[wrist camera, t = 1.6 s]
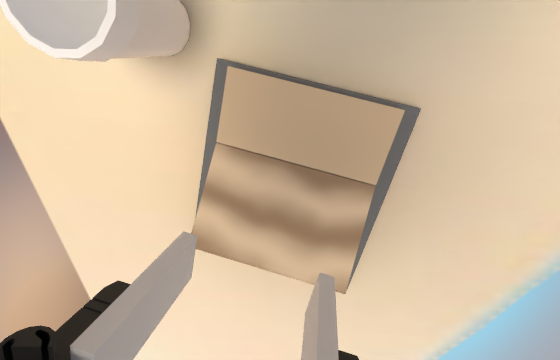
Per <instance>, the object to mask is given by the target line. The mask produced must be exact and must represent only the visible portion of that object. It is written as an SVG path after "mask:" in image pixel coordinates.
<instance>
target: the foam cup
mask: <svg viewBox="0 0 560 360" xmlns="http://www.w3.org/2000/svg"><path fill="white" fill-rule="evenodd" d="M0 6H1V8H2V10H3V13H4V15H5V17H6V18H7V19H8V20H9V22H10V23H11V24H12V25H13V26H14V27H15V29H16V30H17V31H18V32H19V33H20V35H21V36H22V37H23V38H24V39H25V40H26V42H27V43H29V44H30V45H32V46H34V47H36V48H38V49H39V50H41V51H43V52H45V53H47V54H48V55H50V56H52V57H54V58H61V59H70V60H79V61H102V62H106V61H107V60H109V59H114V58H137V57H161V56H173V55H175V54H176V53H178V52H180V51H182V50H183V48H184V46H185V45H186V43H187V41H188V40H189V34H190V26H191V25H190V21H189V17H188V13H187V10H186V9H185V7H184V6H183V5H182V3H181V2H180V0H0Z"/></svg>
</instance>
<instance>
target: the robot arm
mask: <svg viewBox="0 0 560 360" xmlns="http://www.w3.org/2000/svg"><path fill="white" fill-rule="evenodd" d="M196 242H197V235H193V234H190V233H187V232H183V233H182V234H181V235H180V236H179V237H178V238H177V239H176V240H175V241H174V242H173V243H172V244H171V245H170V246H169V247H168V248H167V249H166V250H165V251H164V252H163V253H162V254H161V255H160V256H159V257H158V258H157V259H156V260H155V261H154V262H153V263H152V264H151V265H150V266H149V267H148V268H147V269H146V270H145V271H144V272H143V273H142V274H141V275H140V276H139V277H138V278H137V279H136V280H135V281H134V282H133V283H132V284H128V283H125V282H121V281H116V282H114V283H112V284H110V285H108V286H106V287H105V288H103V289H102V290H101V291H100V292H99V293H98V294H97V295H95V296H94V297H93V299H92V300H90V301H89V302H88V303H87V304H85V305H84V307H83V308H81V309H80V310H79V311H78V312H77V313H75V314H74V315H73V316H72V317H71V318H70V319H69V320H68V321H67V322H65V323H64V324H63V325H62V326H61V327H60V328H59V329H58V330H57V331H53V330H52V329H51V328H49V327H45V326H34V327H28V328H25V329H22V330H20V331H17V332H15V333H14V334H12V335H10V336H8V337H7V338H5V339H4V340H3V341H2V342H1V343H0V360H133V359H134V357H135V356H136V355H137V353H138V352H139V350H140V349H141V348H142V346H143V345H144V343H145V342H146V341H147V339H148V338H149V336H150V335H151V333H152V332H153V331H154V329H155V328H156V326H157V325H158V324H159V322H160V321H161V319H162V318H163V317H164V315H165V314H166V312H167V311H168V310H169V308H170V307H171V305H172V304H173V303H174V301H175V300H176V298H177V297H178V296H179V294H180V293H181V291H182V290H183V288H184V287H185V286H186V284H187V283H188V281H189V280H190V279H191V277H192V270H193V263H194V256H195V249H196ZM301 360H359V359H358V357H357V356H355V355H352V354H349V353H346V352H343V351H340V350H338V337H337V317H336V297H335V277H333V276H330V275H327V274H323V273H319V275H318V278H317V281H316V284H315V287H314V290H313V293H312V295H311V298H310V301H309V304H308V307H307V310H306V312H305V322H304V334H303V345H302V356H301Z"/></svg>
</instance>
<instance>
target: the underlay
mask: <svg viewBox="0 0 560 360" xmlns="http://www.w3.org/2000/svg"><path fill="white" fill-rule="evenodd" d="M420 110H421V109H420V108H416V107H412V106H408V105H404V104H400V103H396V102H392V101H388V100H384V99H380V98H376V97H372V96H368V95H363V94H359V93H355V92H351V91H347V90H343V89H339V88H335V87H331V86H327V85H323V84H319V83H315V82H311V81H307V80H303V79H299V78H295V77H291V76H287V75H283V74H279V73H275V72H271V71H267V70H263V69H259V68H255V67H251V66H247V65H243V64H239V63H235V62H231V61H226V60H222V59H218V58H217V63H216V71H215V78H214V85H213V93H212V100H211V107H210V115H209V122H208V129H207V137H206V144H205V151H204V159H203V166H202V174H201V181H200V188H199V196H198V203H197V210H196V215H197V211H198V207H199V204H200V200H201V196H202V193H203V189H204V185H205V182H206V178H207V175H208V171H209V167H210V164H211V160H212V156H213V153H214V149H215V145H216V143H219V144H222V145H226V146H230V147H233V148H237V149H241V150H244V151H248V152H252V153H255V154H259V155H263V156H266V157H270V158H274V159H277V160H281V161H285V162H288V163H292V164H296V165H299V166H303V167H307V168H310V169H314V170H318V171H322V172H325V173H329V174H333V175H336V176H340V177H344V178H347V179H351V180H355V181H358V182H362V183H366V184H369V185H373V186H375V190H374V193H373V197H372V200H371V204H370V208H369V211H368V215H367V218H366V222H365V225H364V229H363V233H362V236H361V240H360V243H359V247H358V250H357V254H356V258H355V261H354V265H353V268H352V272H351V275H350V279H349V283H348V286H349V284H350V281H351V279H352V276H353V274H354V271H355V269H356V267H357V264H358V262H359V259H360V257H361V254H362V252H363V249H364V247H365V245H366V242H367V240H368V237H369V235H370V232H371V230H372V227H373V225H374V222H375V220H376V218H377V215H378V213H379V210H380V208H381V205H382V203H383V200H384V198H385V196H386V193H387V191H388V188H389V186H390V183H391V181H392V178H393V176H394V174H395V171H396V169H397V166H398V164H399V161H400V159H401V156H402V154H403V152H404V149H405V147H406V144H407V142H408V139H409V137H410V134H411V132H412V130H413V127H414V125H415V122H416V120H417V117H418V115H419V112H420ZM348 286H347V289H348Z"/></svg>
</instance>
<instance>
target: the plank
mask: <svg viewBox="0 0 560 360" xmlns="http://www.w3.org/2000/svg"><path fill="white" fill-rule="evenodd" d="M374 190H375V186H373V185H369V184H366V183H362V182H358V181H355V180H351V179H347V178H344V177H340V176H336V175H333V174H329V173H325V172H322V171H318V170H314V169H310V168H307V167H303V166H299V165H296V164H292V163H288V162H285V161H281V160H277V159H274V158H270V157H266V156H263V155H259V154H255V153H252V152H248V151H244V150H241V149H237V148H233V147H230V146H226V145H222V144H219V143H216V145H215V149H214V153H213V156H212V160H211V164H210V167H209V171H208V175H207V178H206V182H205V185H204V189H203V193H202V196H201V200H200V204H199V207H198V211H197V215H196V218H195V222H194V225H193V229H192V233H191V234H193V235H197V242H196V249H198V250H201V251H205V252H208V253H211V254H215V255H218V256H221V257H224V258H228V259H231V260H234V261H238V262H241V263H244V264H248V265H251V266H254V267H257V268H261V269H264V270H267V271H271V272H274V273H277V274H280V275H284V276H287V277H290V278H294V279H297V280H300V281H303V282H307V283H310V284H313V285H315V284H316V281H317V278H318V275H319V273H323V274H327V275H330V276H333V277H335V291H336V292H340V293H343V294H345V293H346V290H347V286H348V283H349V279H350V275H351V272H352V268H353V265H354V261H355V258H356V254H357V250H358V247H359V243H360V240H361V236H362V233H363V229H364V225H365V222H366V218H367V215H368V211H369V208H370V204H371V200H372V197H373V193H374Z"/></svg>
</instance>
